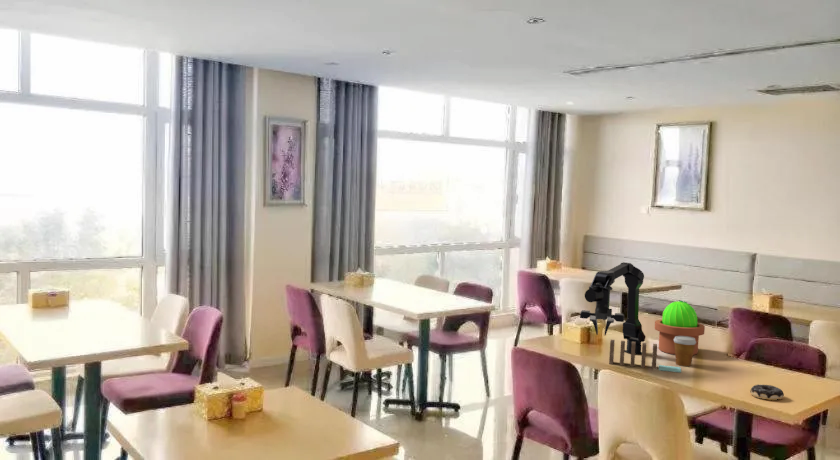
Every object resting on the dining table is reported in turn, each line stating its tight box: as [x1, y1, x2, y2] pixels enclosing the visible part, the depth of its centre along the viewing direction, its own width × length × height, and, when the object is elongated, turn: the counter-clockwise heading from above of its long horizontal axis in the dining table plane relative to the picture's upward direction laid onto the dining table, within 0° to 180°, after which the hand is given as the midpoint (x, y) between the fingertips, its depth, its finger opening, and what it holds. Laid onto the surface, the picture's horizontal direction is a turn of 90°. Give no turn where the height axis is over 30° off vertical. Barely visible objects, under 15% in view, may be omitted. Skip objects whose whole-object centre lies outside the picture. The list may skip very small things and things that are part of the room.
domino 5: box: [651, 343, 658, 370], centre depth 307 cm, size 2×5×10 cm, turn 162°
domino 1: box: [608, 339, 615, 366], centre depth 312 cm, size 2×5×10 cm, turn 162°
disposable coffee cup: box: [674, 336, 696, 367], centre depth 314 cm, size 10×10×12 cm
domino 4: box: [640, 342, 647, 369], centre depth 308 cm, size 2×5×10 cm, turn 162°
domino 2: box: [619, 340, 626, 366], centre depth 311 cm, size 2×5×10 cm, turn 162°
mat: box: [658, 364, 682, 373], centre depth 305 cm, size 9×8×1 cm
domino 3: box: [630, 342, 636, 368], centre depth 310 cm, size 2×5×10 cm, turn 162°
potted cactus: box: [654, 300, 706, 356], centre depth 339 cm, size 22×22×25 cm
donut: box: [749, 384, 785, 401], centre depth 269 cm, size 11×12×4 cm
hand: (601, 335), depth 313 cm, fingers open, 3 cm apart
